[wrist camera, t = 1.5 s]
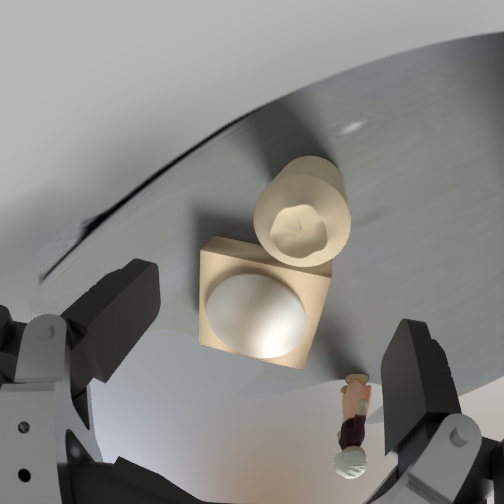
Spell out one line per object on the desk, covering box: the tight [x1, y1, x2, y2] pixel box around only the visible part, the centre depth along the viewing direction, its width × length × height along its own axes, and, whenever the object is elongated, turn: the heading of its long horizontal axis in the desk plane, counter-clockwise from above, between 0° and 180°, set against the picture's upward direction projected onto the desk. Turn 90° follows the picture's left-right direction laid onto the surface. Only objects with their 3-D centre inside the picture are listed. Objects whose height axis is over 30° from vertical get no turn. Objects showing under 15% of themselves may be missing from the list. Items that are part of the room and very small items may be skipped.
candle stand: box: [199, 236, 332, 370], centre depth 28 cm, size 11×11×4 cm
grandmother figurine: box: [333, 374, 371, 479], centre depth 27 cm, size 8×4×13 cm, turn 6°
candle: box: [253, 156, 351, 267], centre depth 20 cm, size 6×6×10 cm
